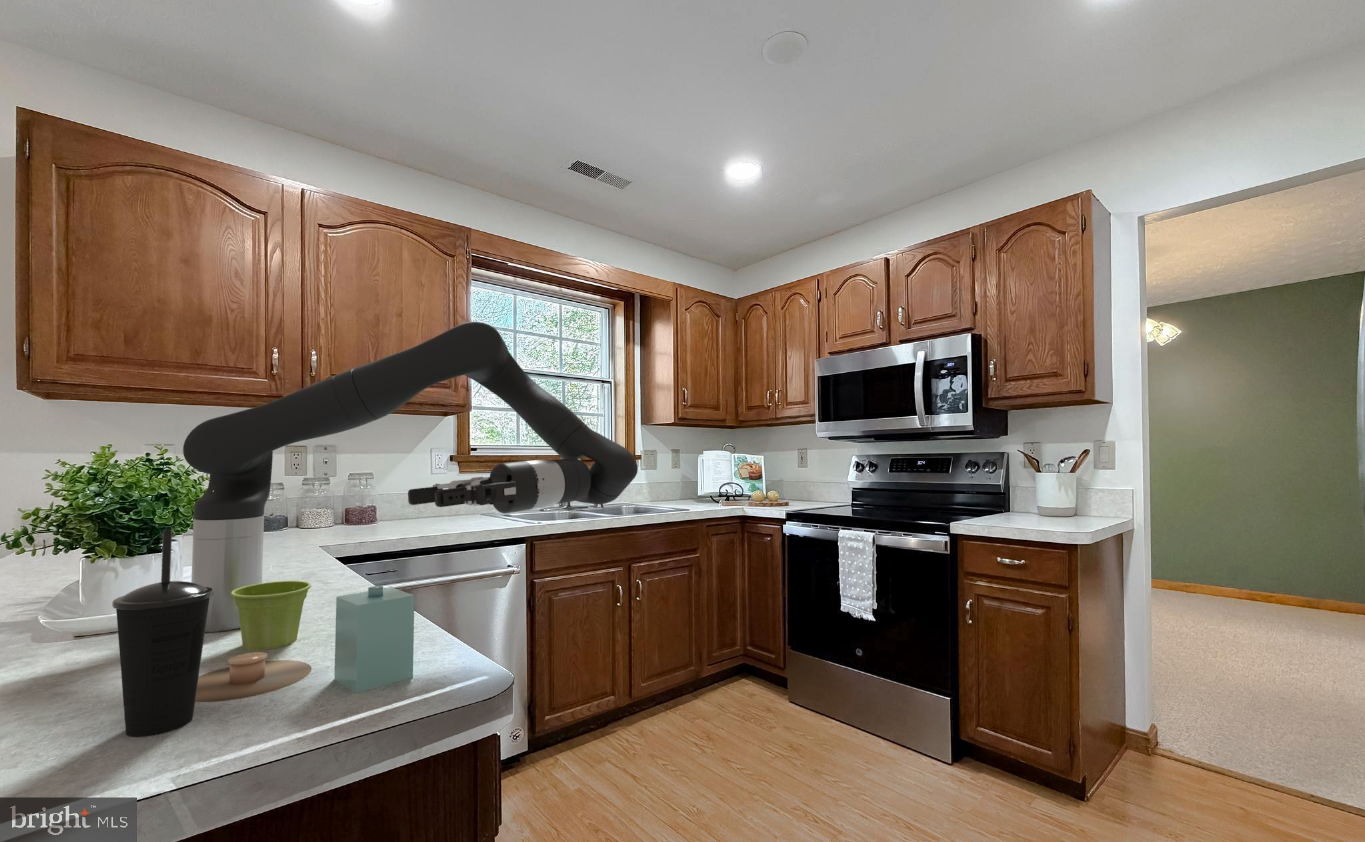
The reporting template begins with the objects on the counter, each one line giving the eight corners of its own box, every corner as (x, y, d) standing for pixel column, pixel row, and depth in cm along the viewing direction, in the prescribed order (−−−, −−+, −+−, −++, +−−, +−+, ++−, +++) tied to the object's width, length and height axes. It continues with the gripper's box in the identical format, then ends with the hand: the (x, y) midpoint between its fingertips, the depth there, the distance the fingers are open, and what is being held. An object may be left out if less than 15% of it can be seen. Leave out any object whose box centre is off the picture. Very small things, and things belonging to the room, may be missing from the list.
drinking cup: (197, 711, 65) (204, 523, 66) (218, 732, 60) (225, 529, 61) (99, 737, 59) (108, 531, 60) (114, 763, 54) (123, 538, 55)
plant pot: (324, 640, 90) (326, 581, 90) (276, 662, 80) (277, 596, 81) (265, 638, 91) (267, 580, 91) (211, 660, 81) (213, 594, 82)
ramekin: (223, 679, 72) (224, 657, 72) (261, 670, 75) (262, 650, 75) (231, 687, 69) (232, 665, 69) (270, 678, 72) (271, 656, 72)
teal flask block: (334, 682, 72) (336, 588, 72) (389, 667, 77) (391, 579, 77) (355, 696, 68) (357, 596, 68) (412, 680, 72) (414, 586, 73)
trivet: (165, 689, 71) (165, 680, 71) (291, 660, 81) (292, 653, 81) (188, 722, 63) (189, 712, 63) (327, 685, 72) (327, 676, 72)
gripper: (501, 461, 99) (399, 470, 87) (552, 460, 89) (444, 469, 77) (504, 508, 98) (402, 523, 87) (555, 511, 89) (447, 529, 77)
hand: (422, 498), depth 82 cm, fingers open, 8 cm apart
